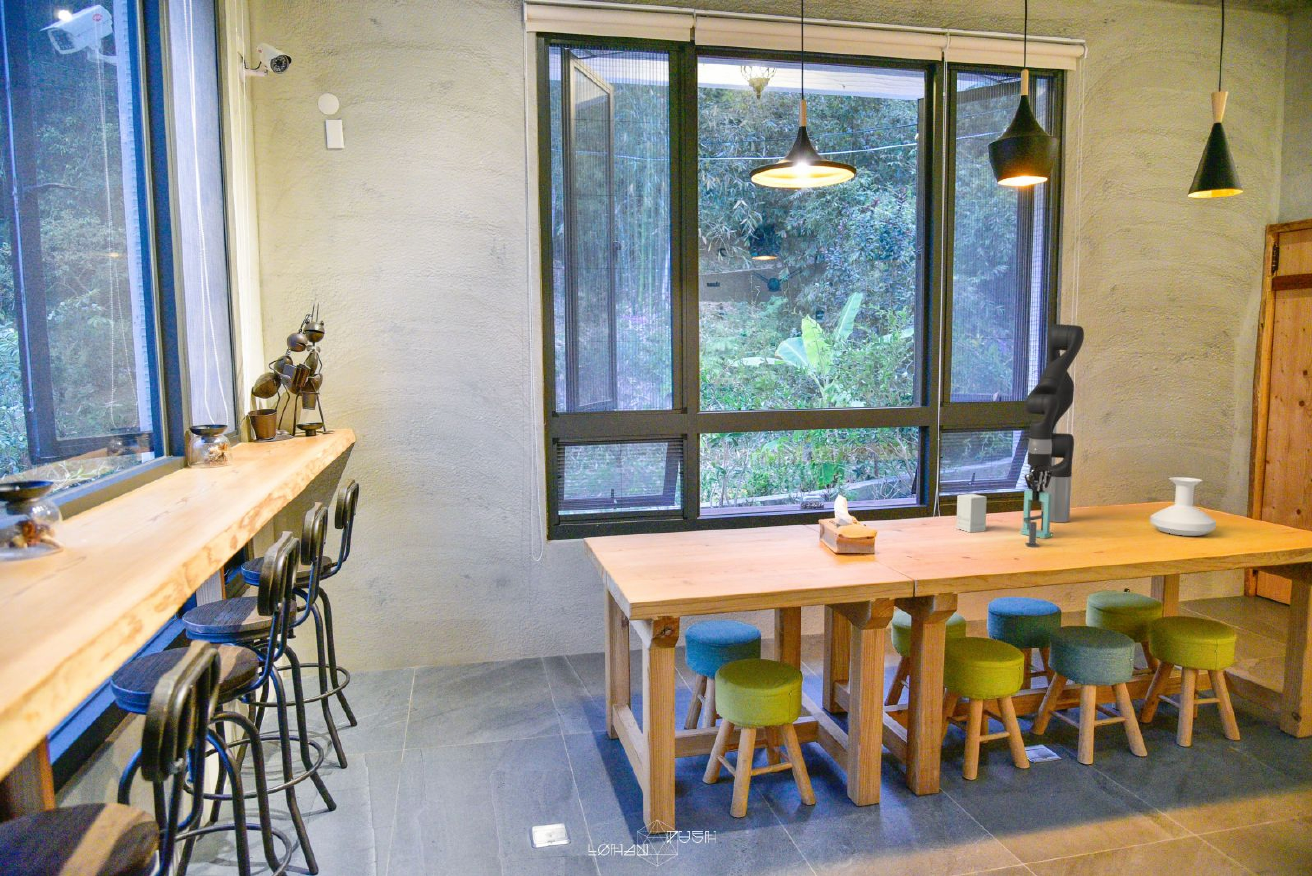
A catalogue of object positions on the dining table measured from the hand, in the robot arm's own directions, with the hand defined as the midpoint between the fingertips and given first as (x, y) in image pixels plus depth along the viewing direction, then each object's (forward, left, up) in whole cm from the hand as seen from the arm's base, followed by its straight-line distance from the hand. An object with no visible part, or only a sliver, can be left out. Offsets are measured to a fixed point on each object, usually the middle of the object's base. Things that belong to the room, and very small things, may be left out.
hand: (1037, 500), depth 307 cm
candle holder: (+13, +53, -13) cm, 56 cm away
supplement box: (-15, -15, -13) cm, 25 cm away
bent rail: (+5, -4, -12) cm, 14 cm away
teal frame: (0, 0, -12) cm, 12 cm away
